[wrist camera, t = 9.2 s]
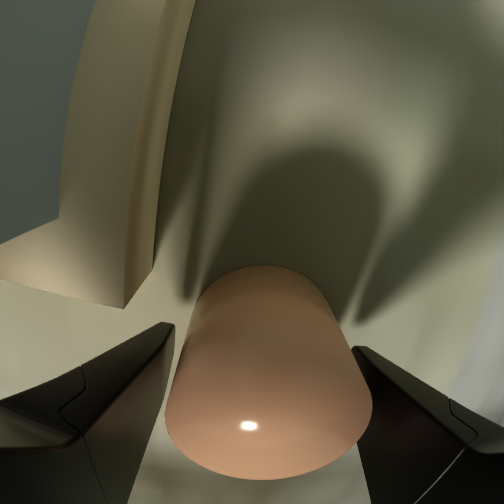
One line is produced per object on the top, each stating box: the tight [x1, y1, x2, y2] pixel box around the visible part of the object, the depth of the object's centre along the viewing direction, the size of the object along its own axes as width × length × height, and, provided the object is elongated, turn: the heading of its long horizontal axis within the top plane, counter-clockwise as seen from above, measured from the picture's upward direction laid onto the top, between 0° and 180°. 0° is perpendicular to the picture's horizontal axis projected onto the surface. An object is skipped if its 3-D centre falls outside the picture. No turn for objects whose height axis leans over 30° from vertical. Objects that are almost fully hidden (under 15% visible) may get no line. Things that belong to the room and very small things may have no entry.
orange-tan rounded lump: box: [165, 265, 372, 480], centre depth 8 cm, size 4×4×4 cm
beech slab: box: [0, 0, 196, 309], centre depth 6 cm, size 9×9×2 cm
